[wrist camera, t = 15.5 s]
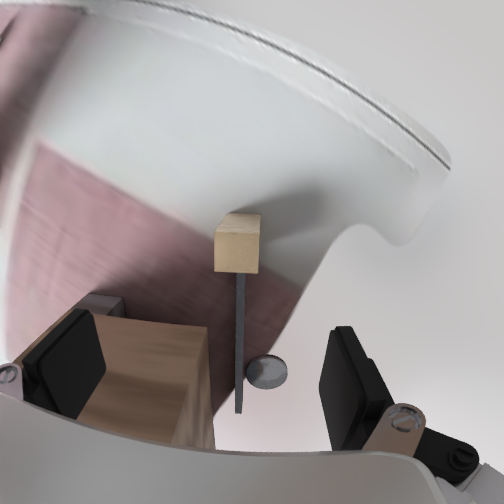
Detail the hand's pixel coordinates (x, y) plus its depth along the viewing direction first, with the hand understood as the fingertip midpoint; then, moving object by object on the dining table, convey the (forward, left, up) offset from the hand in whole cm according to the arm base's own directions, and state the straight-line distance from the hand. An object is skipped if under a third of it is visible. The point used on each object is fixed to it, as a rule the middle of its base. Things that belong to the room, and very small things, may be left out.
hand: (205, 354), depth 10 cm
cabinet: (+20, -11, -19) cm, 30 cm away
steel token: (+17, +4, -20) cm, 26 cm away
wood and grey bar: (+10, 0, -19) cm, 22 cm away
